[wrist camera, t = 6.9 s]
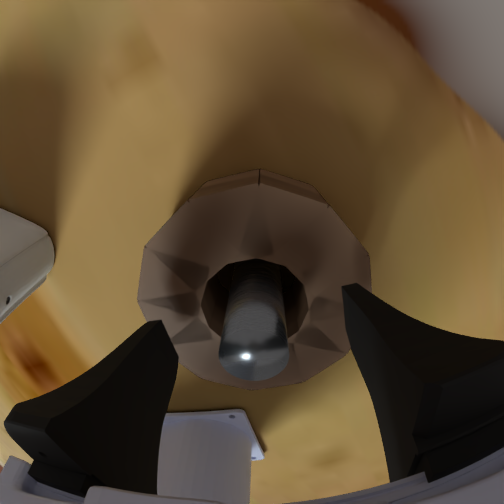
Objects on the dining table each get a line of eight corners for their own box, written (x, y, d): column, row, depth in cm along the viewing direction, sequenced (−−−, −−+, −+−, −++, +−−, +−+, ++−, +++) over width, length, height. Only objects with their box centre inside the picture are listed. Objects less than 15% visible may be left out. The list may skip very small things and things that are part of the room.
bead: (197, 350, 19) (185, 396, 15) (140, 200, 15) (106, 223, 12) (355, 322, 18) (372, 366, 14) (333, 154, 14) (358, 163, 10)
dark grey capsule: (243, 292, 17) (233, 386, 11) (227, 255, 16) (206, 339, 10) (285, 280, 17) (296, 371, 10) (271, 241, 16) (277, 321, 9)
